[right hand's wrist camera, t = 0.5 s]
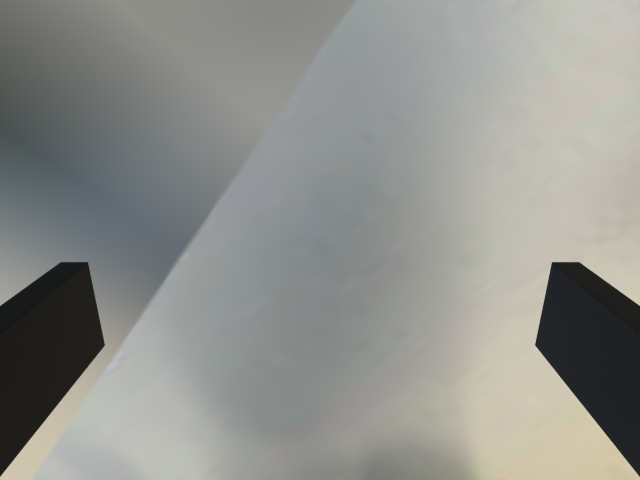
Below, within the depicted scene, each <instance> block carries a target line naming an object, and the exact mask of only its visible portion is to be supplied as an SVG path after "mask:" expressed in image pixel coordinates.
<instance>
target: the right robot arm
mask: <svg viewBox="0 0 640 480" xmlns="http://www.w3.org/2000/svg"><path fill="white" fill-rule="evenodd" d="M104 345H105V344H104V339H103V334H102V329H101V324H100V319H99V314H98V310H97V305H96V300H95V295H94V290H93V285H92V280H91V275H90V270H89V265H88V262H61V263H59V264H58V265H56V266H55V267H54V268H52V269H51V270H50V271H48V272H47V273H45V274H44V275H43V276H41V277H40V278H38V279H37V280H36V281H34V282H33V283H31V284H30V285H29V286H27V287H26V288H25V289H23V290H22V291H20V292H19V293H18V294H16V295H15V296H14V297H12V298H11V299H9V300H8V301H7V302H5V303H4V304H2V305H1V306H0V476H1V475H2V474H3V472H4V471H5V470H6V469H7V467H8V466H9V465H10V464H11V462H12V461H13V460H14V459H15V457H16V456H17V455H18V454H19V452H20V451H21V450H22V449H23V447H24V446H25V445H26V444H27V442H28V441H29V440H30V439H31V437H32V436H33V435H34V434H35V432H36V431H37V430H38V429H39V427H40V426H41V425H42V424H43V422H44V421H45V420H46V418H47V417H48V416H49V415H50V413H51V412H52V411H53V410H54V408H55V407H56V406H57V405H58V403H59V402H60V401H61V400H62V398H63V397H64V396H65V395H66V393H67V392H68V391H69V390H70V388H71V387H72V386H73V385H74V383H75V382H76V381H77V379H78V378H79V377H80V376H81V374H82V373H83V372H84V371H85V370H86V368H87V367H88V366H89V364H90V363H91V362H92V361H93V359H94V358H95V357H96V356H97V354H98V353H99V352H100V351H101V349H102V348H103V347H104ZM535 346H536V347H537V348H538V349H539V351H540V352H541V353H542V354H543V356H544V357H545V358H546V359H547V361H548V362H549V363H550V365H551V366H552V367H553V368H554V370H555V371H556V372H557V373H558V375H559V376H560V377H561V378H562V380H563V381H564V382H565V383H566V385H567V386H568V387H569V388H570V390H571V391H572V392H573V393H574V395H575V396H576V397H577V398H578V400H579V401H580V402H581V403H582V405H583V406H584V407H585V408H586V410H587V411H588V412H589V413H590V415H591V416H592V417H593V418H594V420H595V421H596V422H597V424H598V425H599V426H600V427H601V429H602V430H603V431H604V432H605V434H606V435H607V436H608V437H609V439H610V440H611V441H612V442H613V444H614V445H615V446H616V447H617V449H618V450H619V451H620V452H621V454H622V455H623V456H624V457H625V459H626V460H627V461H628V462H629V464H630V465H631V466H632V467H633V469H634V470H635V471H636V472H637V474H638V475H639V476H640V306H639V305H638V304H636V303H635V302H633V301H632V300H631V299H629V298H628V297H627V296H625V295H624V294H622V293H621V292H620V291H618V290H617V289H615V288H614V287H613V286H611V285H610V284H609V283H607V282H606V281H604V280H603V279H602V278H600V277H599V276H597V275H596V274H595V273H593V272H592V271H591V270H589V269H588V268H586V267H585V266H584V265H582V264H581V263H579V262H552V265H551V270H550V275H549V280H548V285H547V290H546V295H545V300H544V305H543V309H542V314H541V319H540V324H539V329H538V334H537V339H536V344H535Z"/></svg>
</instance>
